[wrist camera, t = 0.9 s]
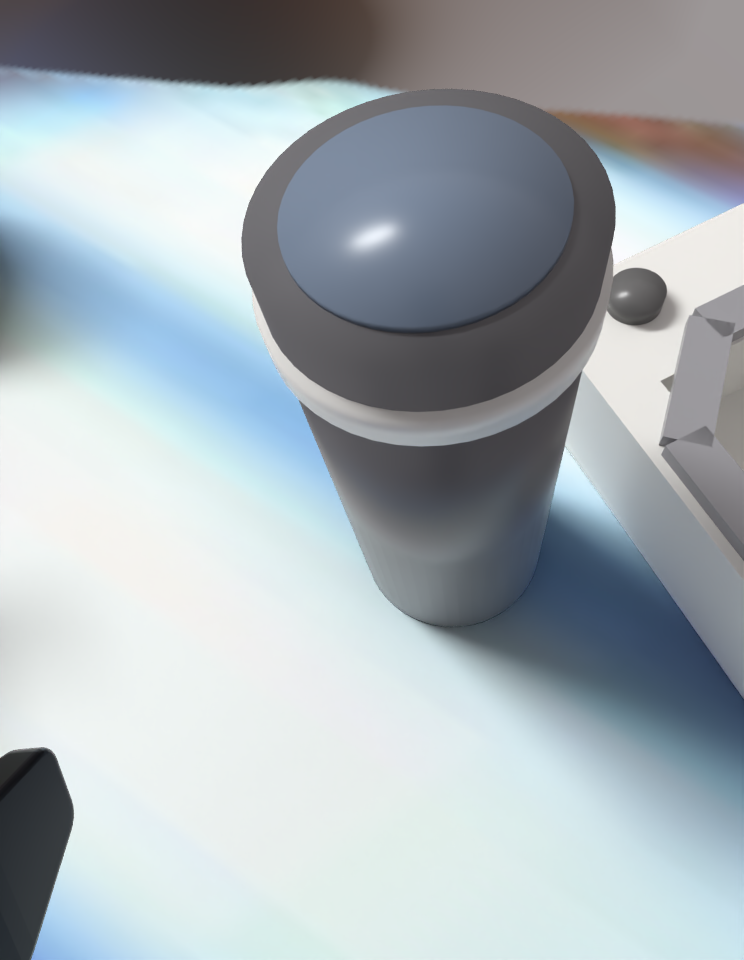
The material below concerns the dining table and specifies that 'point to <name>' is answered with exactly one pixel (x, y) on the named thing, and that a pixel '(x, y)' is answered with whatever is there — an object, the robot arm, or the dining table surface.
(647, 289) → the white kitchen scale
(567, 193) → the lens
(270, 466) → the dining table surface
